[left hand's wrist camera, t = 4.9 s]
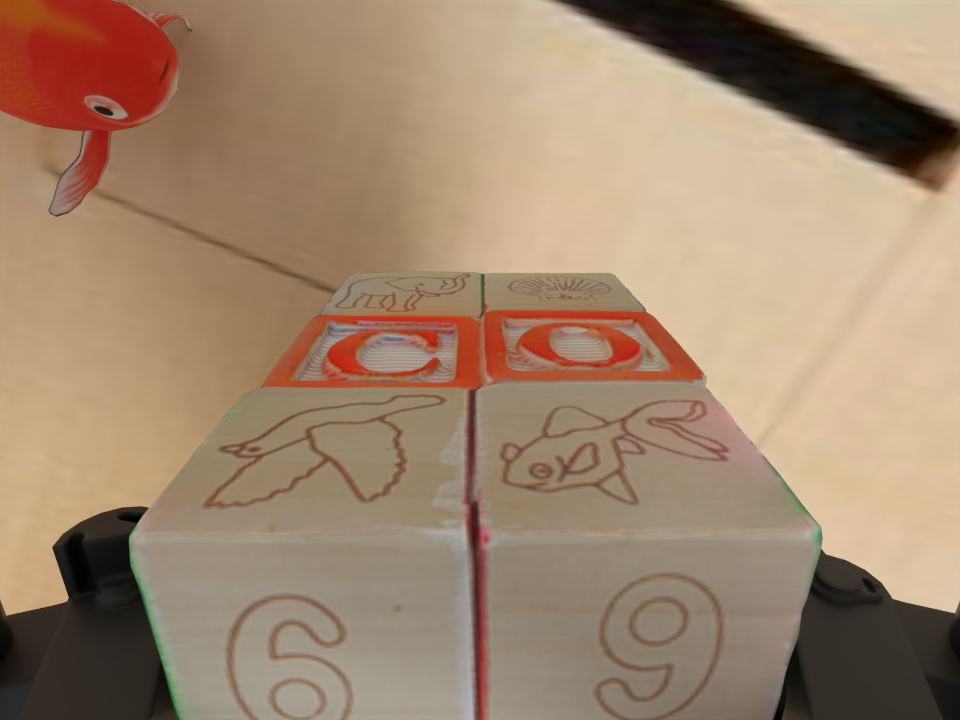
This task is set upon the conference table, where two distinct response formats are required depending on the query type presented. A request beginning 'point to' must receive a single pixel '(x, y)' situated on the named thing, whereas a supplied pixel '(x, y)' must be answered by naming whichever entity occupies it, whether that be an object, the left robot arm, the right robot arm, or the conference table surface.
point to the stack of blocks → (477, 521)
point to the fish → (85, 76)
